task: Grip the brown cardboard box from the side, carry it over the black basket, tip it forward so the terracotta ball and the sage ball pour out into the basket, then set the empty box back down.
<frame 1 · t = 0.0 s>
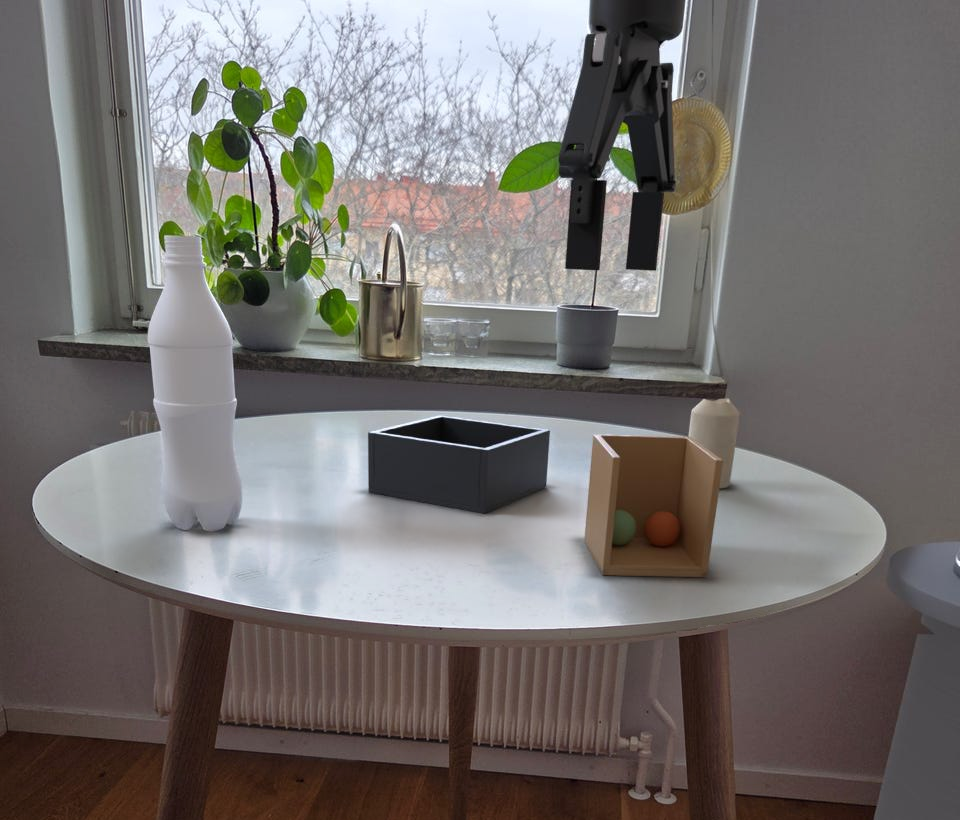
hand: (613, 270, 81), 24 cm above the table, tool pointing down, fingers open, 13 cm apart
basket: (459, 489, 105), on the table
cream bottle: (705, 485, 112), on the table
water bottle: (205, 526, 88), on the table
box: (642, 558, 84), on the table, touching ball a, ball b
ball a: (660, 545, 85), point 1 cm above the table, touching box
ball b: (616, 544, 85), point 1 cm above the table, touching box
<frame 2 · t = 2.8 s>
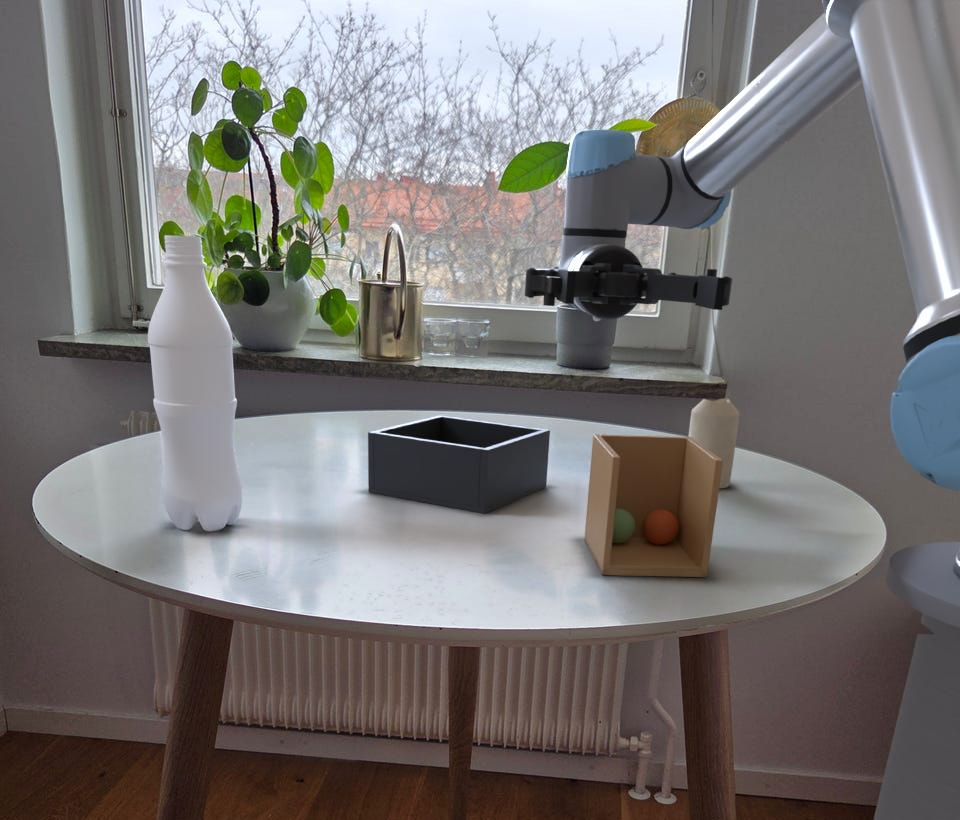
hand: (645, 290, 84), 22 cm above the table, tool horizontal, fingers open, 13 cm apart
ball a: (660, 544, 85), point 1 cm above the table, tilted 20°, touching box
ball b: (616, 543, 85), point 1 cm above the table, tilted 20°, touching box
everything else where it was.
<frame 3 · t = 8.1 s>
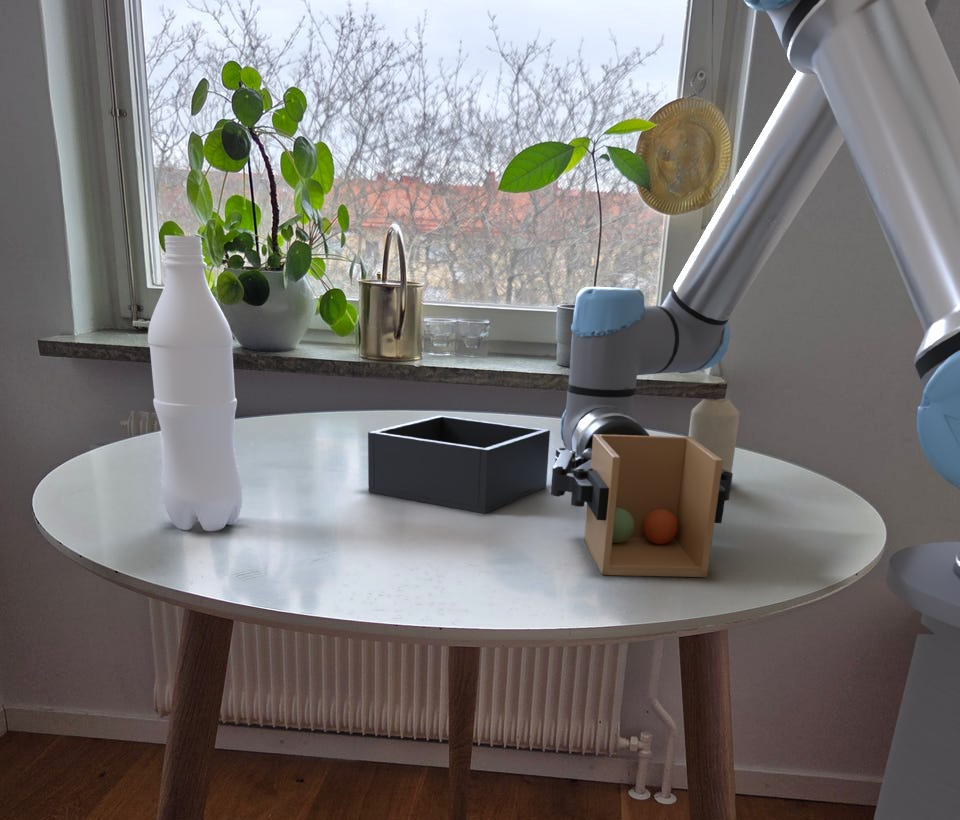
hand: (661, 505, 77), 6 cm above the table, tool horizontal, fingers closed on box, 9 cm apart
box: (642, 558, 84), on the table, touching ball a, ball b, gripper
everything else where it was.
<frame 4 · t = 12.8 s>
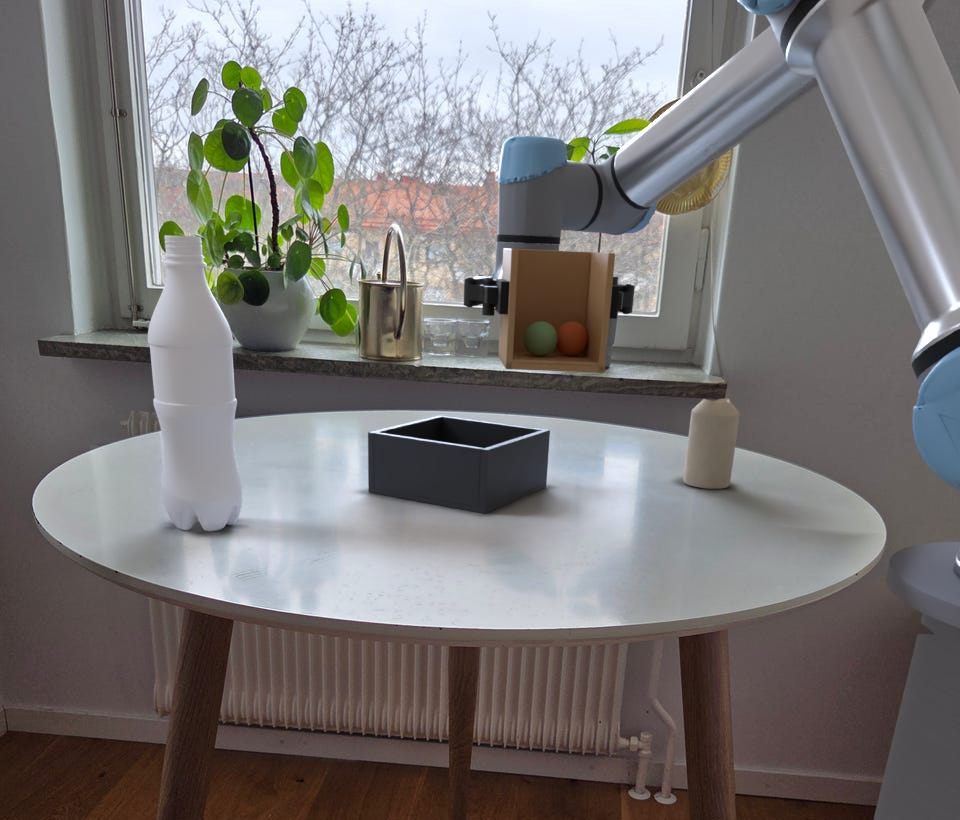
hand: (559, 300, 82), 21 cm above the table, tool horizontal, fingers closed on box, 9 cm apart
box: (548, 364, 89), point 15 cm above the table, touching ball a, ball b, gripper
ball a: (567, 355, 91), point 16 cm above the table, tilted 13°, touching box
ball b: (528, 347, 90), point 16 cm above the table, tilted 56°, touching box
everything else where it was.
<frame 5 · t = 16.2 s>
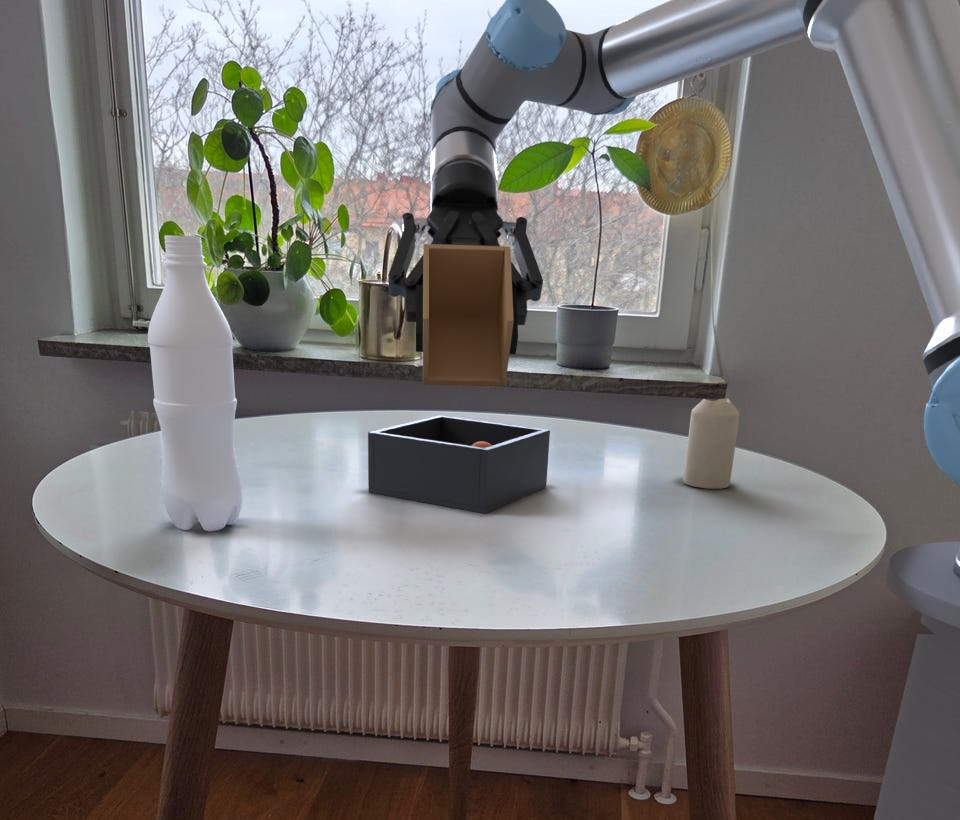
hand: (466, 343, 96), 16 cm above the table, tool tilted 45°, fingers closed on box, 9 cm apart
box: (463, 349, 104), point 15 cm above the table, tilted 43°, touching gripper
ball a: (477, 470, 99), point 3 cm above the table, tilted 19°, touching ball b
ball b: (469, 474, 97), point 3 cm above the table, tilted 144°, touching ball a, basket
everything else where it was.
when the fingers open (6 cm above the table, at t = 26.9 s): box stays where it is, on the table.
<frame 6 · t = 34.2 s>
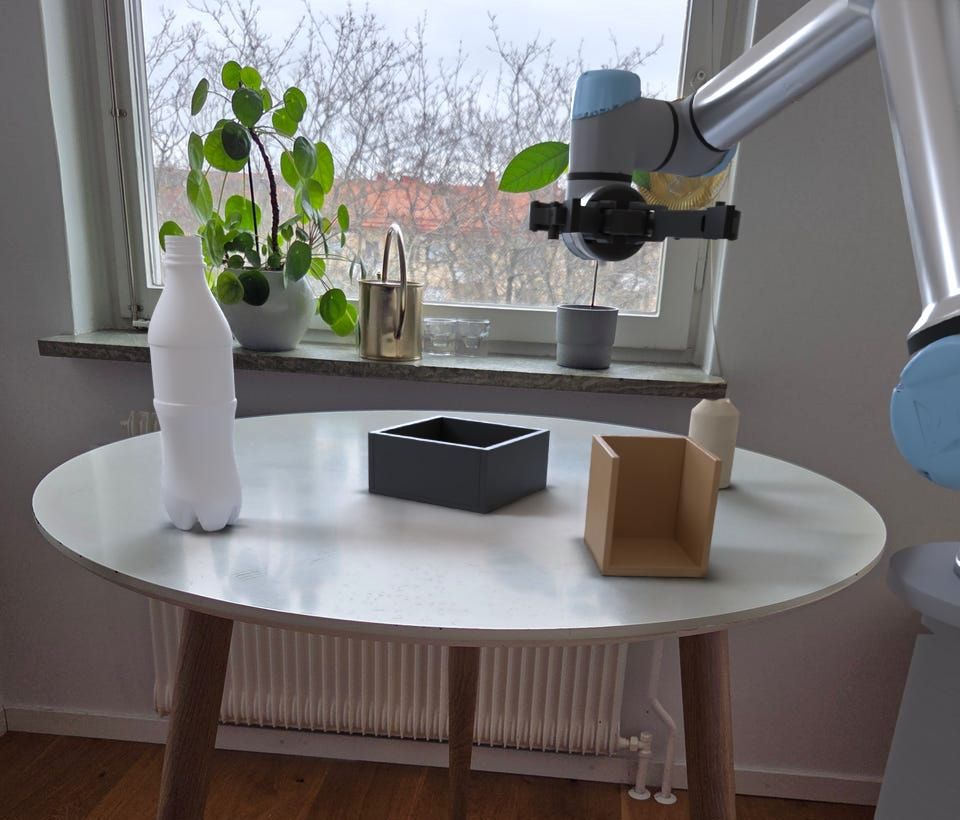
hand: (652, 218, 82), 28 cm above the table, tool horizontal, fingers open, 13 cm apart
box: (641, 558, 84), on the table
ball a: (460, 469, 106), point 2 cm above the table, tilted 80°, touching basket
ball b: (463, 468, 102), point 3 cm above the table, tilted 117°, touching basket
everything else where it was.
at the end: ball a inside the target area in the basket (2.0 cm from its centre), point 1.8 cm above the basket's base; ball b inside the target area in the basket (2.0 cm from its centre), point 2.8 cm above the basket's base; box tilted 0° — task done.
